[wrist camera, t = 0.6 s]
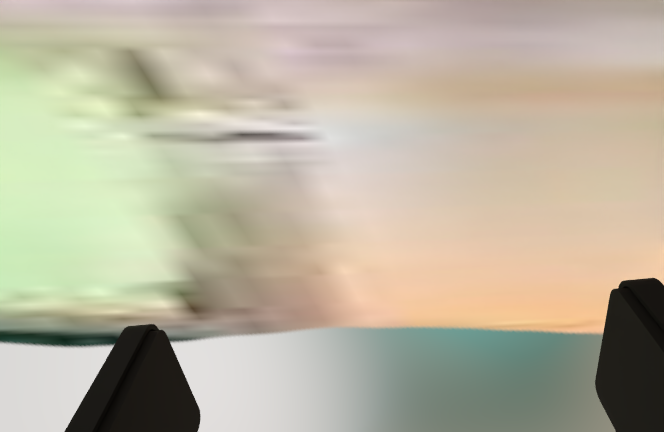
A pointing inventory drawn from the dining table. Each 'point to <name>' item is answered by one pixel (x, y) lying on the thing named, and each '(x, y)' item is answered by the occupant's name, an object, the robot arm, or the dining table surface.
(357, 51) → the dining table surface
